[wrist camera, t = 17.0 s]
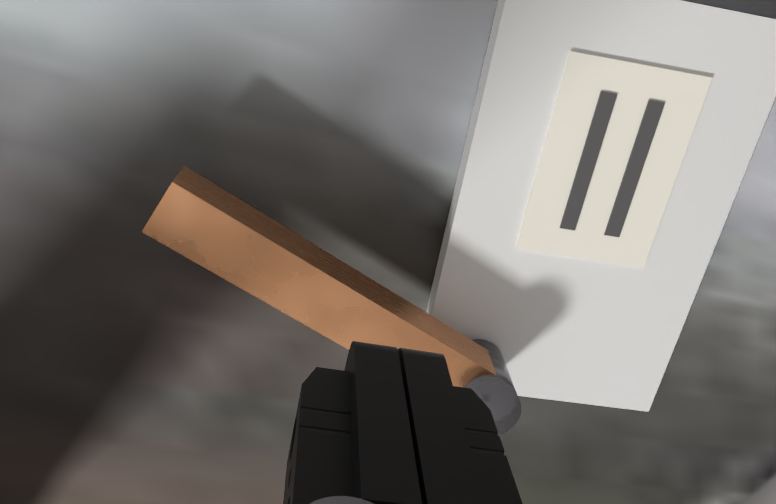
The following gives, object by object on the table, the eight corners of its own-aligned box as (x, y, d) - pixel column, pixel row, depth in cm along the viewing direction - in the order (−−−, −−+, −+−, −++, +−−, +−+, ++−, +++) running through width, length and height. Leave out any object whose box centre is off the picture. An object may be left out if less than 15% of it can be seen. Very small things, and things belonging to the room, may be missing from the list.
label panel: (638, 396, 42) (650, 414, 40) (413, 368, 40) (415, 386, 38) (785, 21, 33) (808, 25, 32) (506, -35, 32) (514, -33, 30)
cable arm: (513, 356, 38) (533, 404, 34) (480, 393, 39) (495, 445, 35) (189, 157, 33) (167, 187, 29) (159, 207, 33) (133, 242, 29)
